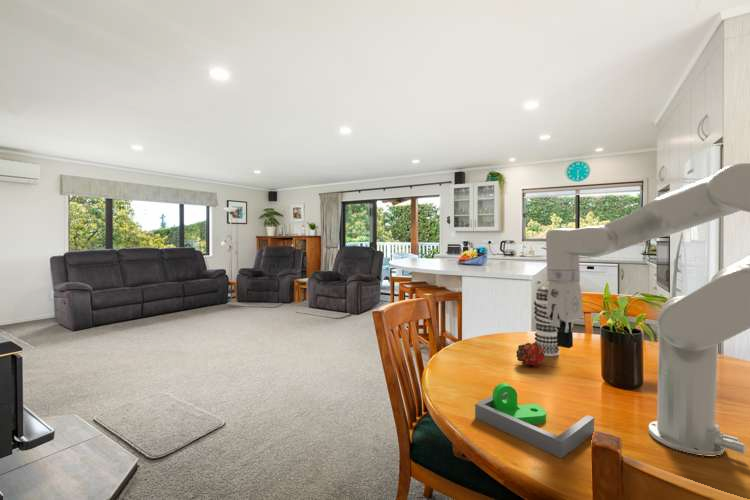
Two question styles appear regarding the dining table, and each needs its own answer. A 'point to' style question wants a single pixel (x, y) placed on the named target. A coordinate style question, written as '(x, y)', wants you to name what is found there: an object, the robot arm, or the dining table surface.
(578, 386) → the dining table surface
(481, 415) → the u-shaped bracket
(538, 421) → the mechanical part
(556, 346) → the decorative candle
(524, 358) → the dragon fruit
